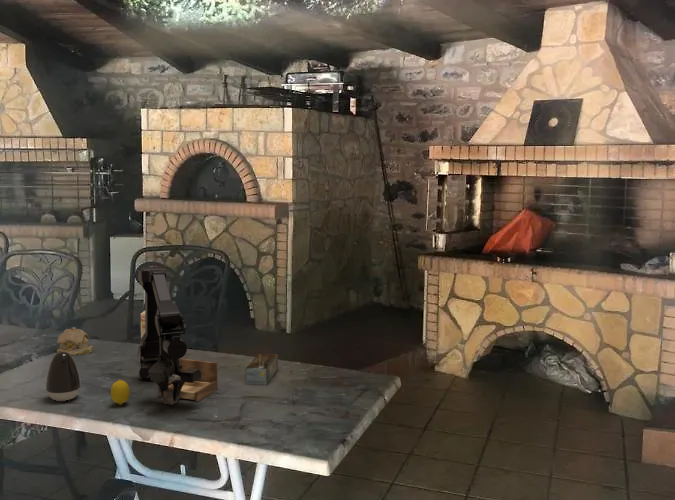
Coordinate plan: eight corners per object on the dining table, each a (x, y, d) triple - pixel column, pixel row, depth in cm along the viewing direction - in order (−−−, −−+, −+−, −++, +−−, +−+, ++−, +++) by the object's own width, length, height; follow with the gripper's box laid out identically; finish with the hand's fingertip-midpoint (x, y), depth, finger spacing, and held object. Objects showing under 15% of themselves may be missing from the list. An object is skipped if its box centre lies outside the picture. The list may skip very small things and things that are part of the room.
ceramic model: (50, 355, 261) (49, 329, 260) (65, 347, 272) (64, 323, 271) (84, 356, 259) (83, 331, 258) (98, 348, 270) (97, 324, 269)
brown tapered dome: (47, 406, 204) (45, 357, 203) (45, 396, 213) (43, 349, 212) (83, 401, 209) (81, 353, 207) (79, 391, 218) (77, 345, 216)
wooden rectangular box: (244, 384, 227) (244, 366, 226) (257, 368, 246) (257, 351, 245) (266, 385, 226) (266, 367, 225) (278, 369, 245) (278, 352, 244)
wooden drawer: (152, 402, 208) (151, 389, 207) (180, 385, 223) (180, 374, 223) (184, 406, 204) (183, 393, 204) (210, 389, 220) (210, 377, 220)
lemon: (113, 402, 209) (112, 377, 208) (131, 401, 209) (131, 376, 208) (109, 408, 203) (108, 382, 202) (127, 407, 204) (127, 382, 203)
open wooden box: (158, 397, 214) (157, 369, 212) (180, 384, 226) (179, 358, 225) (197, 401, 209) (197, 373, 208) (217, 389, 222) (217, 362, 221)
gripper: (127, 354, 201) (128, 405, 202) (182, 360, 195) (183, 412, 197) (148, 345, 211) (149, 393, 213) (201, 350, 205) (202, 400, 207)
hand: (170, 400), depth 207 cm, fingers closed on wooden drawer, 3 cm apart
